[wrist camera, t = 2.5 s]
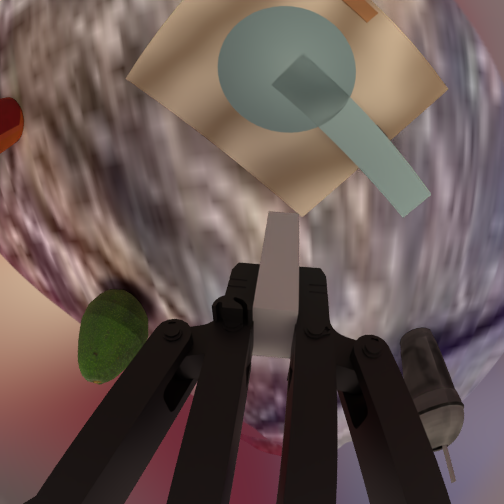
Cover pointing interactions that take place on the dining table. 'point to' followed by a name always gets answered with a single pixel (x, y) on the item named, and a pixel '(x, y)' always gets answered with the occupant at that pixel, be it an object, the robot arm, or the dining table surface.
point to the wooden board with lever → (281, 143)
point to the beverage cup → (432, 390)
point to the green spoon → (310, 92)
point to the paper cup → (10, 123)
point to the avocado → (110, 335)
